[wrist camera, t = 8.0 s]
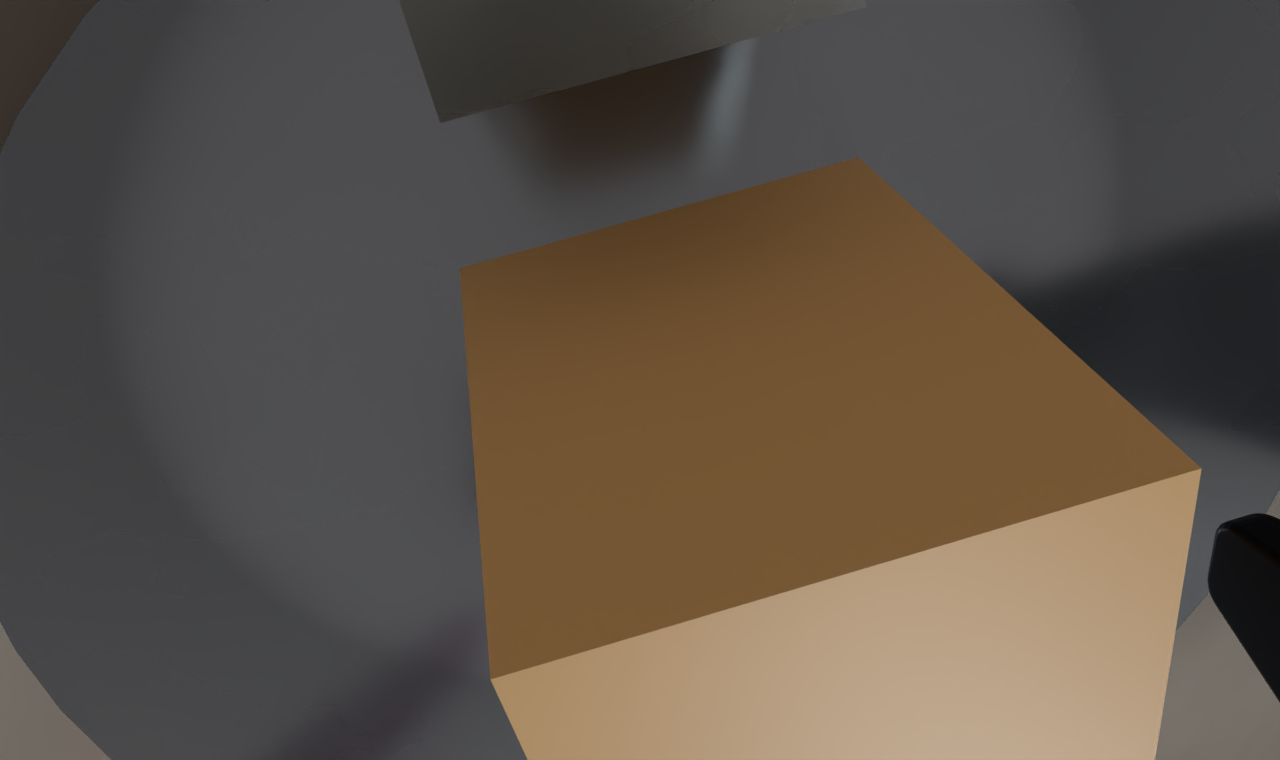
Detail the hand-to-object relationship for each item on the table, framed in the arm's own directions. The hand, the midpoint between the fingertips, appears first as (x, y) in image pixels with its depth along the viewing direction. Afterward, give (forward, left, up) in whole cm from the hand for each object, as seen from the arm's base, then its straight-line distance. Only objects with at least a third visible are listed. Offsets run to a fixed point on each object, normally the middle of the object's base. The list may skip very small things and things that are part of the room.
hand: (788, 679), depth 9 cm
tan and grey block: (0, 0, -2) cm, 2 cm away
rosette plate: (0, 0, -4) cm, 4 cm away
